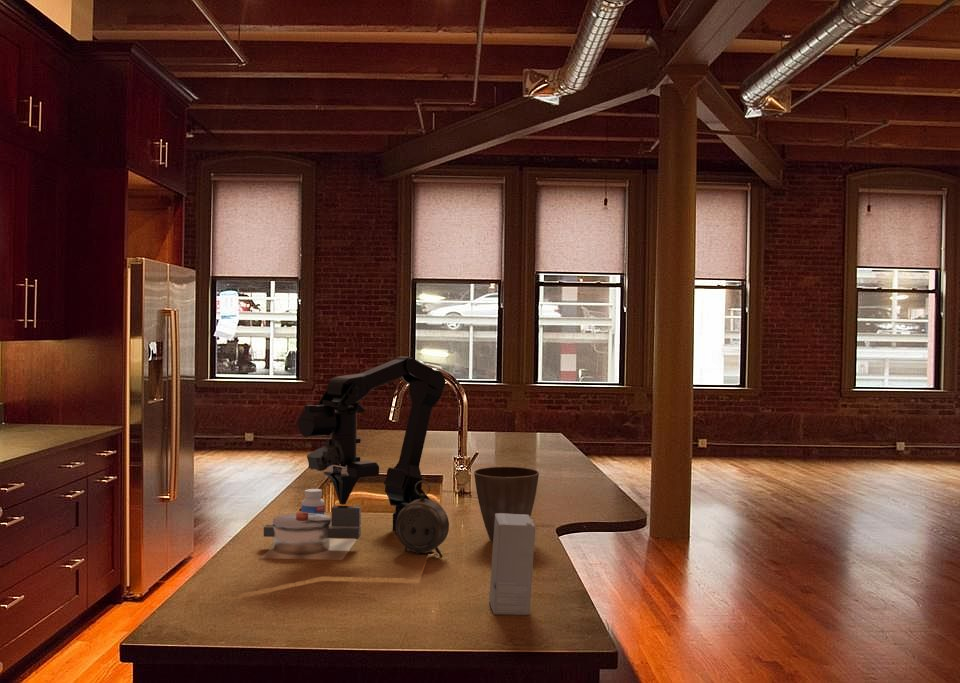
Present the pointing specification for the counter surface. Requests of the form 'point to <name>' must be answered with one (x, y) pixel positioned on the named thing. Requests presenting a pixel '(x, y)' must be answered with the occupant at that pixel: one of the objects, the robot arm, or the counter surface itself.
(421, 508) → the alarm clock
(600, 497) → the counter surface
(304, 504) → the pill bottle
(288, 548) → the cooker pot
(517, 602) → the skincare box
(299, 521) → the lid
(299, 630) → the counter surface
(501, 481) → the plant pot
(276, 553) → the trivet
